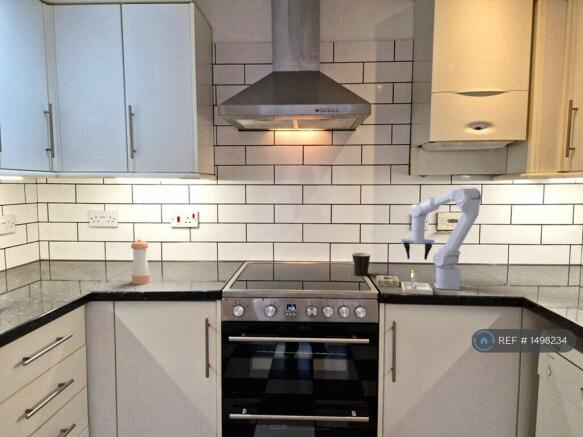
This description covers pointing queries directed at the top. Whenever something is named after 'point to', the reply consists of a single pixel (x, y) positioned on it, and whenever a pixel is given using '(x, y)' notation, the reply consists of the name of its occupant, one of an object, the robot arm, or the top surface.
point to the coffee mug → (361, 263)
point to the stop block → (387, 281)
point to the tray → (421, 288)
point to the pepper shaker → (140, 263)
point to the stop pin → (414, 279)
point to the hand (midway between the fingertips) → (416, 259)
